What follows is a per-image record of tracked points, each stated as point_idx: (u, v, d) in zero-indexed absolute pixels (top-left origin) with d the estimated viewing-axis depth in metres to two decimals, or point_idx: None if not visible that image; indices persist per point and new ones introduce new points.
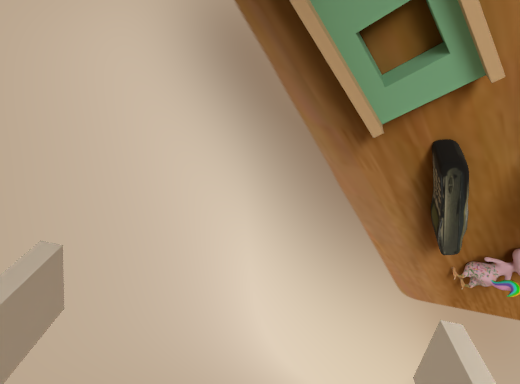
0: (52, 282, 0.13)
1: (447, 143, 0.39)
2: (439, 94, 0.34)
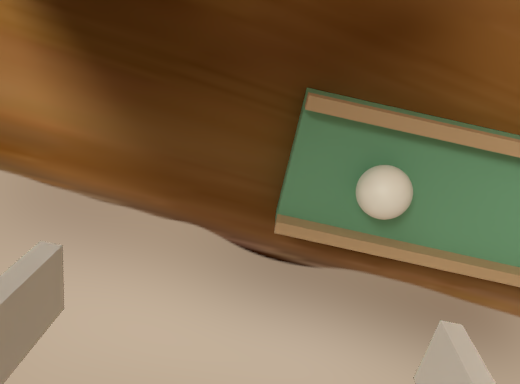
0: (52, 282, 0.13)
1: None
2: None
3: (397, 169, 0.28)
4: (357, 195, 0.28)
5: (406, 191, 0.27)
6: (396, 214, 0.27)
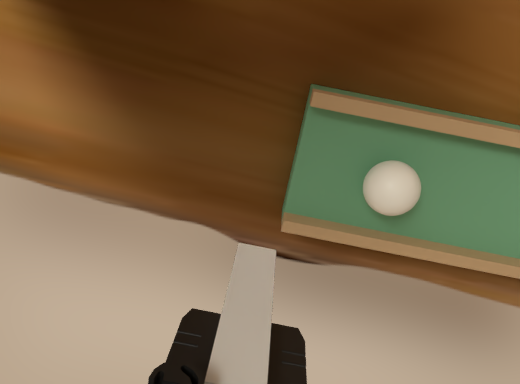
0: None
1: None
2: None
3: (404, 164, 0.27)
4: (364, 192, 0.28)
5: (414, 187, 0.27)
6: (404, 210, 0.27)
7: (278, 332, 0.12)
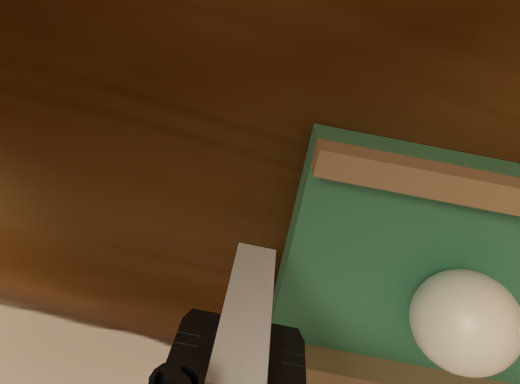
0: None
1: None
2: None
3: (494, 285, 0.14)
4: (415, 330, 0.15)
5: (518, 336, 0.14)
6: (495, 374, 0.14)
7: (278, 332, 0.12)
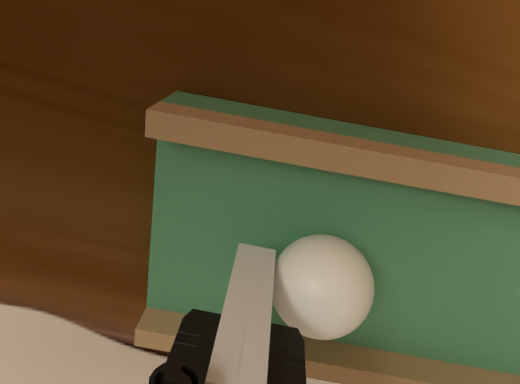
0: None
1: None
2: None
3: (342, 247, 0.14)
4: (273, 300, 0.15)
5: (362, 295, 0.14)
6: (348, 333, 0.14)
7: (277, 332, 0.12)
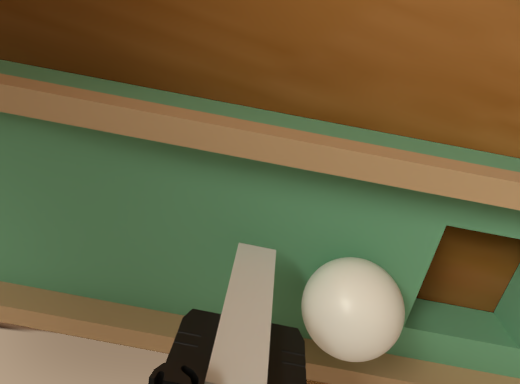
0: None
1: None
2: None
3: (374, 268, 0.15)
4: (342, 352, 0.14)
5: None
6: None
7: (278, 332, 0.12)
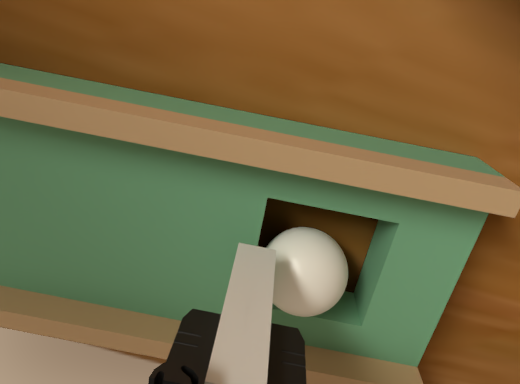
0: None
1: None
2: (453, 276, 0.17)
3: (318, 230, 0.18)
4: None
5: (279, 234, 0.18)
6: None
7: (278, 332, 0.12)
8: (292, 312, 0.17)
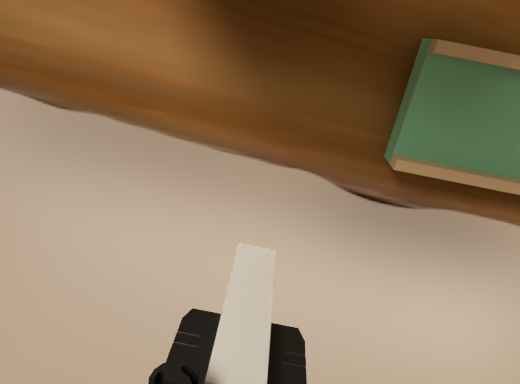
0: None
1: None
2: None
3: None
4: None
5: None
6: None
7: (278, 332, 0.12)
8: None
